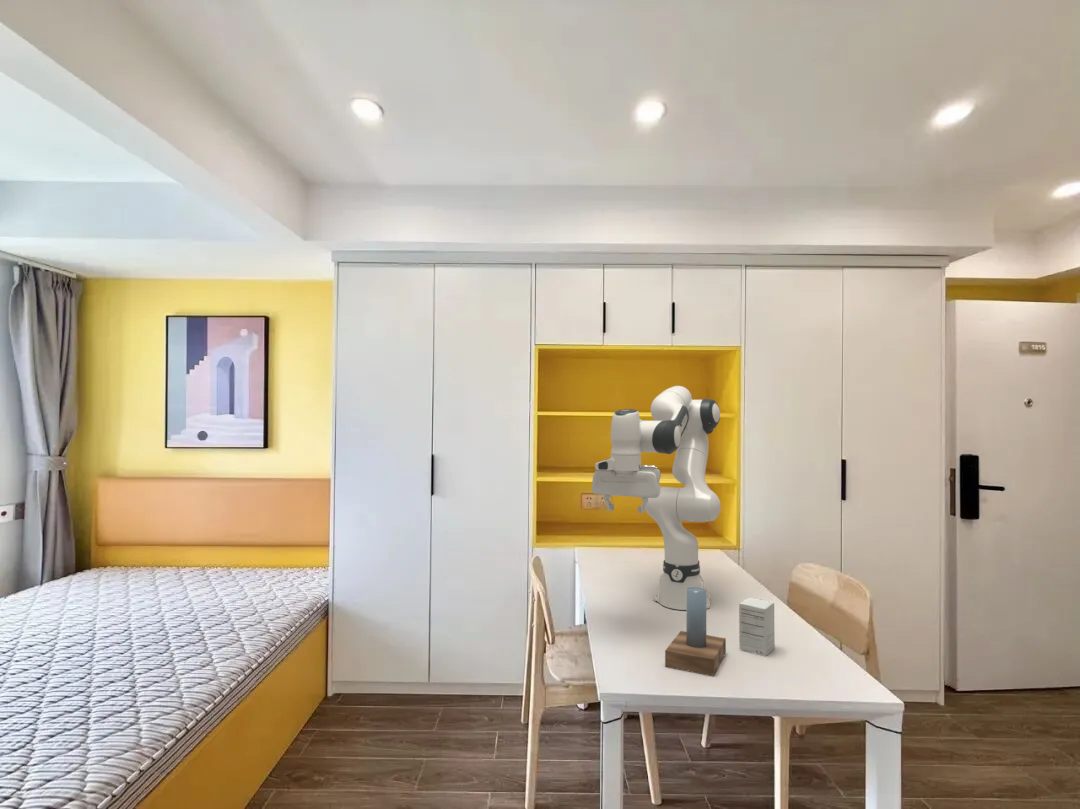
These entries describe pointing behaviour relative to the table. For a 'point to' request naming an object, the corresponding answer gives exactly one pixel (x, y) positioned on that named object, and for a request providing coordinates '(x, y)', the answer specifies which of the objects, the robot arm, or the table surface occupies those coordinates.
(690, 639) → the slate cylinder
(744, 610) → the supplement box
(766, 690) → the table surface
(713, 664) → the plate
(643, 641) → the table surface
